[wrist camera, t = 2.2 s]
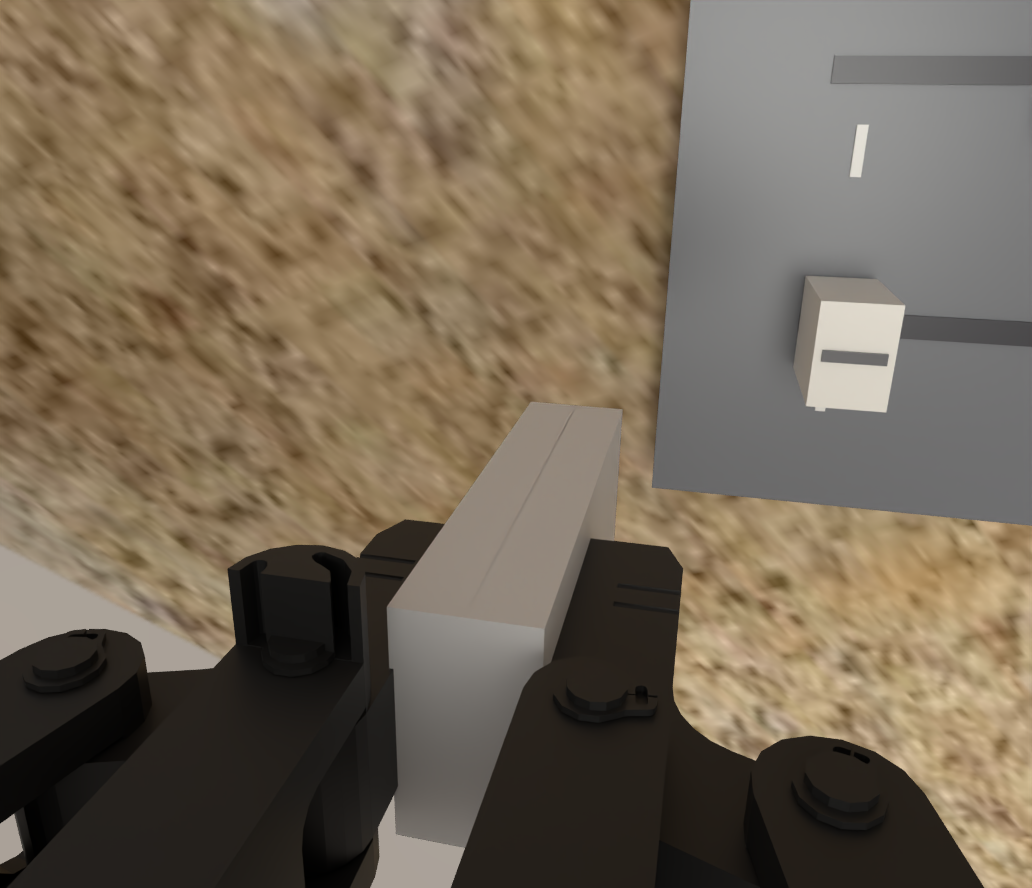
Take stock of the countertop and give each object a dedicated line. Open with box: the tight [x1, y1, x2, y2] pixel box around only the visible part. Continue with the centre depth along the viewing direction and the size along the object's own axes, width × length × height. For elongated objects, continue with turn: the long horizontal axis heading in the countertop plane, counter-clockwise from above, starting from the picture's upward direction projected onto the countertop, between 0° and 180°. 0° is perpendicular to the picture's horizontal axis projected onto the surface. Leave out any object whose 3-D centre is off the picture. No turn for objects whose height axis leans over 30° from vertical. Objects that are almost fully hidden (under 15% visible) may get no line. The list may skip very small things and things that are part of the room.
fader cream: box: [793, 276, 905, 412], centre depth 24 cm, size 2×3×4 cm
